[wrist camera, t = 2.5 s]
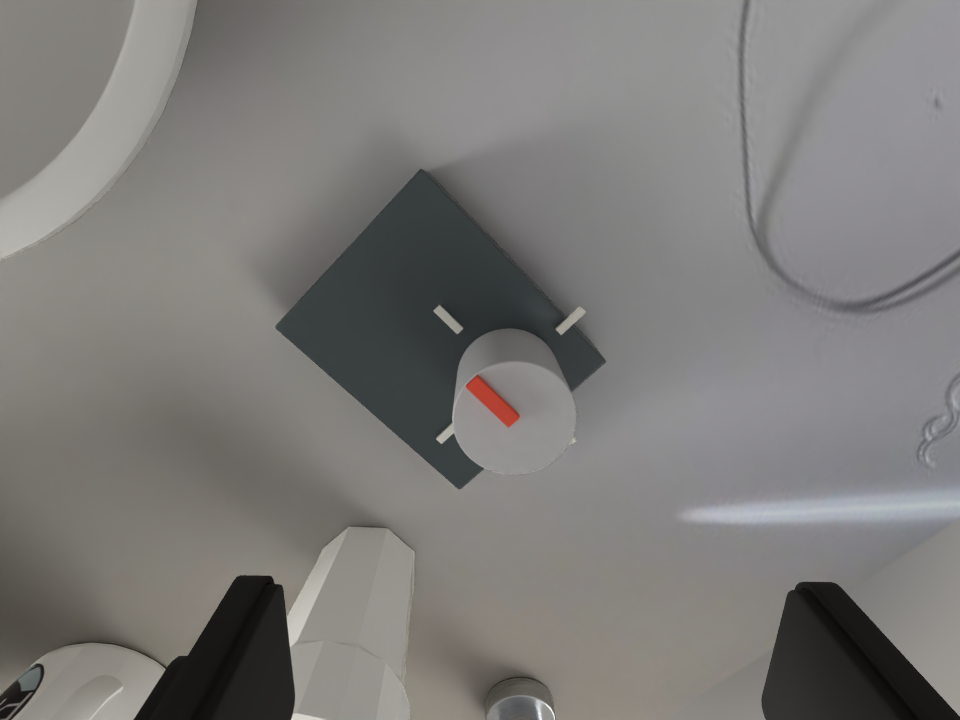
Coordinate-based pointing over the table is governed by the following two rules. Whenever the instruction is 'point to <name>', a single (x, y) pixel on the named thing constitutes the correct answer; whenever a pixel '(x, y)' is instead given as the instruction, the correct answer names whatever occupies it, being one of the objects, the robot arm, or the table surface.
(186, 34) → the white sink basin
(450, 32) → the table surface
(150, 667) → the mug
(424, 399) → the dial base plate
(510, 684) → the faucet
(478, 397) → the tap knob
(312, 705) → the cup
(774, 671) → the robot arm
